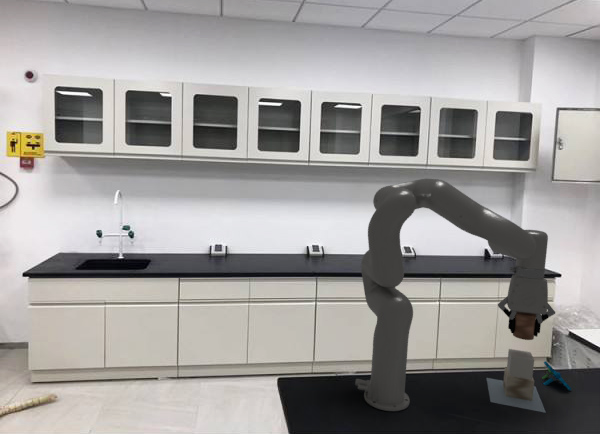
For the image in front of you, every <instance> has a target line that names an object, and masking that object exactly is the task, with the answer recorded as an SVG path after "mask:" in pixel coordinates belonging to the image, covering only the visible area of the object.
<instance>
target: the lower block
mask: <svg viewBox="0 0 600 434" xmlns="http://www.w3.org/2000/svg"><path fill="white" fill-rule="evenodd" d="M502 381H503V387H504V391H505V395H506V396H508V397H513V398H519V399H524V400H529V401H532V399H533V389H534V386H535V379H534V377H532V380H529V379H523V378H517V377H511V376H509V373H508V370H507V366H505V367H504V372H503V380H502Z"/></svg>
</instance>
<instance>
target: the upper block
mask: <svg viewBox="0 0 600 434" xmlns="http://www.w3.org/2000/svg"><path fill="white" fill-rule="evenodd" d="M506 363H507V364H506V367H507V370H508V373H509V376H511V377H517V378H523V379H529V380H532V377H533V375H534V367H535V366H534V365H535V359H534V357H533V354H532V352H531V351H525V350H518V349H512V348H509V349H508V355H507V361H506ZM533 378H534V377H533Z"/></svg>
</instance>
